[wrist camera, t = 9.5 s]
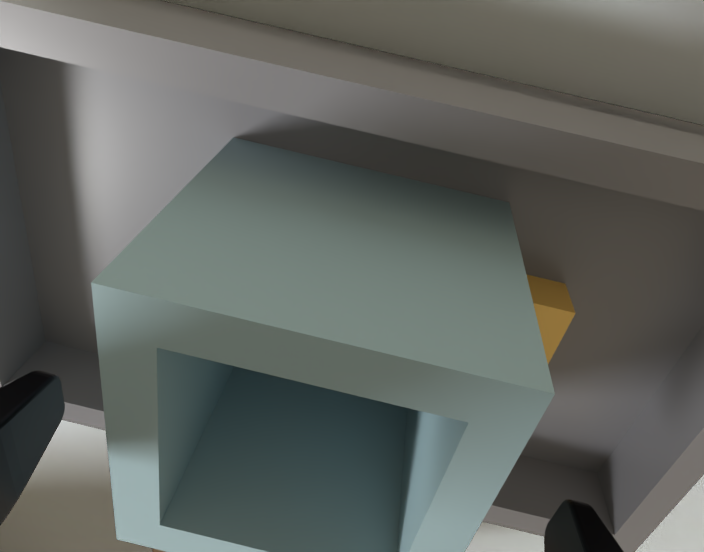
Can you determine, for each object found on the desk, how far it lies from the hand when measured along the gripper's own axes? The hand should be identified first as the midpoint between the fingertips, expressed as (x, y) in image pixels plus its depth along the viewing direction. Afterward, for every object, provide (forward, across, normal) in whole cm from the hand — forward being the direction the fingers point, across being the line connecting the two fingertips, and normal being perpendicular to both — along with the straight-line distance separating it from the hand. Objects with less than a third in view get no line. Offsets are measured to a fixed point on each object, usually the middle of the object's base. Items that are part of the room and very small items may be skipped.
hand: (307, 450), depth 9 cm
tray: (+6, 0, 0) cm, 6 cm away
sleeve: (+5, 0, 0) cm, 5 cm away
